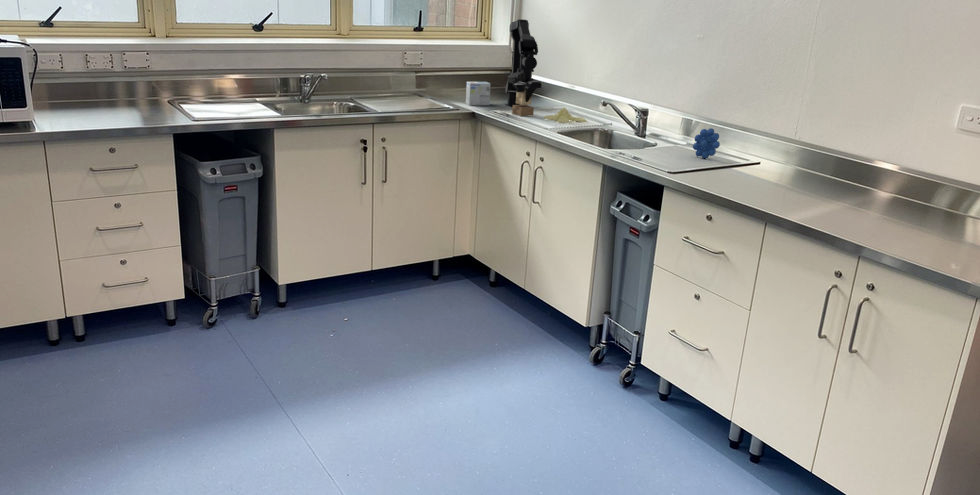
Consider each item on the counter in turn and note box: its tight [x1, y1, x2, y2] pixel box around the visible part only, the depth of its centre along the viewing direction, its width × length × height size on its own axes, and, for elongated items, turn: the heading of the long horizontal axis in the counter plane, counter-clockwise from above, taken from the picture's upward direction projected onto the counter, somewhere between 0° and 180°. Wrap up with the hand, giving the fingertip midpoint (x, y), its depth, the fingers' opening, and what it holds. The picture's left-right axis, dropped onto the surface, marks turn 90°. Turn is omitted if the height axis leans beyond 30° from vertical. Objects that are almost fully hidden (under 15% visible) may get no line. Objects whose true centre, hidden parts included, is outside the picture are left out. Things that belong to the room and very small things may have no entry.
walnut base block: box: [511, 105, 534, 117], centre depth 381 cm, size 7×7×4 cm
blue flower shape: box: [692, 127, 721, 159], centre depth 312 cm, size 12×7×12 cm, turn 39°
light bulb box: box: [465, 81, 491, 106], centre depth 400 cm, size 11×7×11 cm, turn 108°
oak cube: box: [516, 91, 532, 106], centre depth 379 cm, size 5×5×5 cm
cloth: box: [543, 107, 588, 125], centre depth 376 cm, size 22×19×6 cm
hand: (523, 101), depth 380 cm, fingers closed on oak cube, 5 cm apart
